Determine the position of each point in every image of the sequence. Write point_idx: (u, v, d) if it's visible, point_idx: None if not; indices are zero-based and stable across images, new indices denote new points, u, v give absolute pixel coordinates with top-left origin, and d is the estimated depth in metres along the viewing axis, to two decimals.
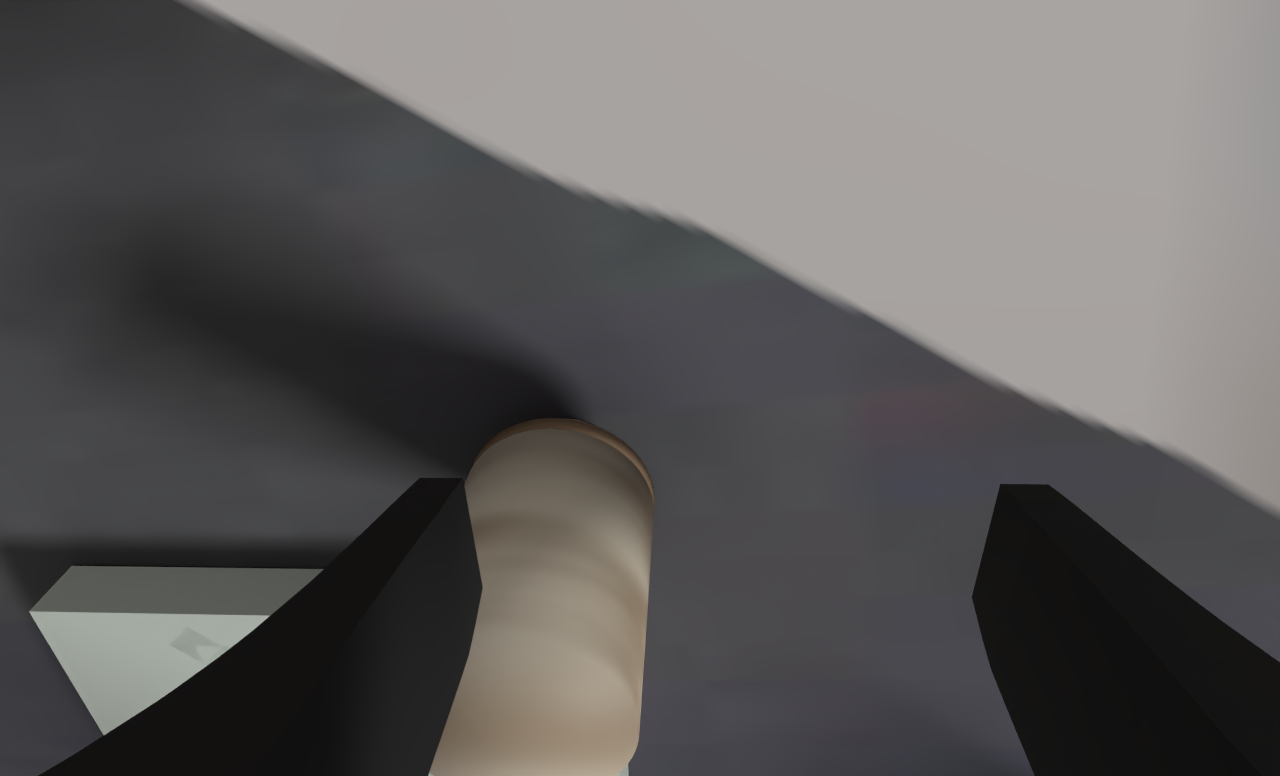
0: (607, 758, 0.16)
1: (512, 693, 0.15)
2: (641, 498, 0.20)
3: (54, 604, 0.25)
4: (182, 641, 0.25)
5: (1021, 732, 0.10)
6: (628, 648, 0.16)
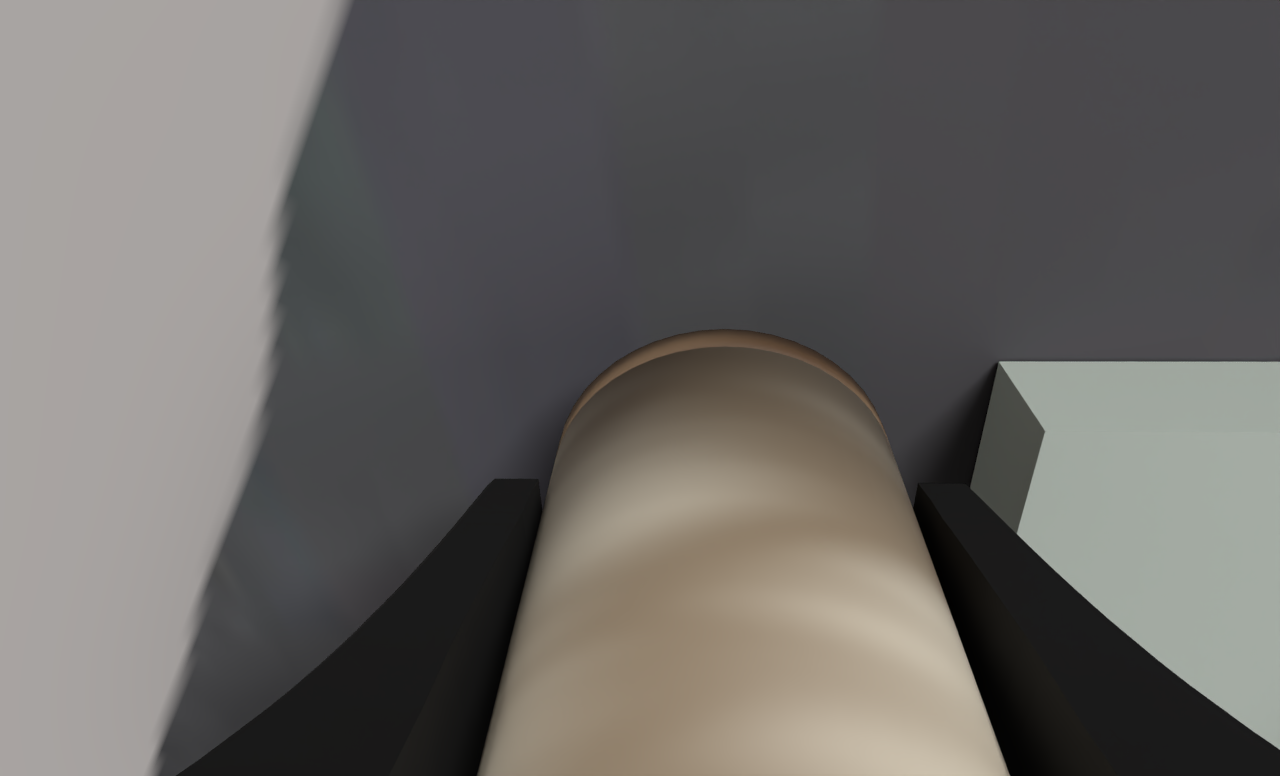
0: None
1: None
2: (646, 394, 0.10)
3: None
4: None
5: None
6: (610, 720, 0.06)
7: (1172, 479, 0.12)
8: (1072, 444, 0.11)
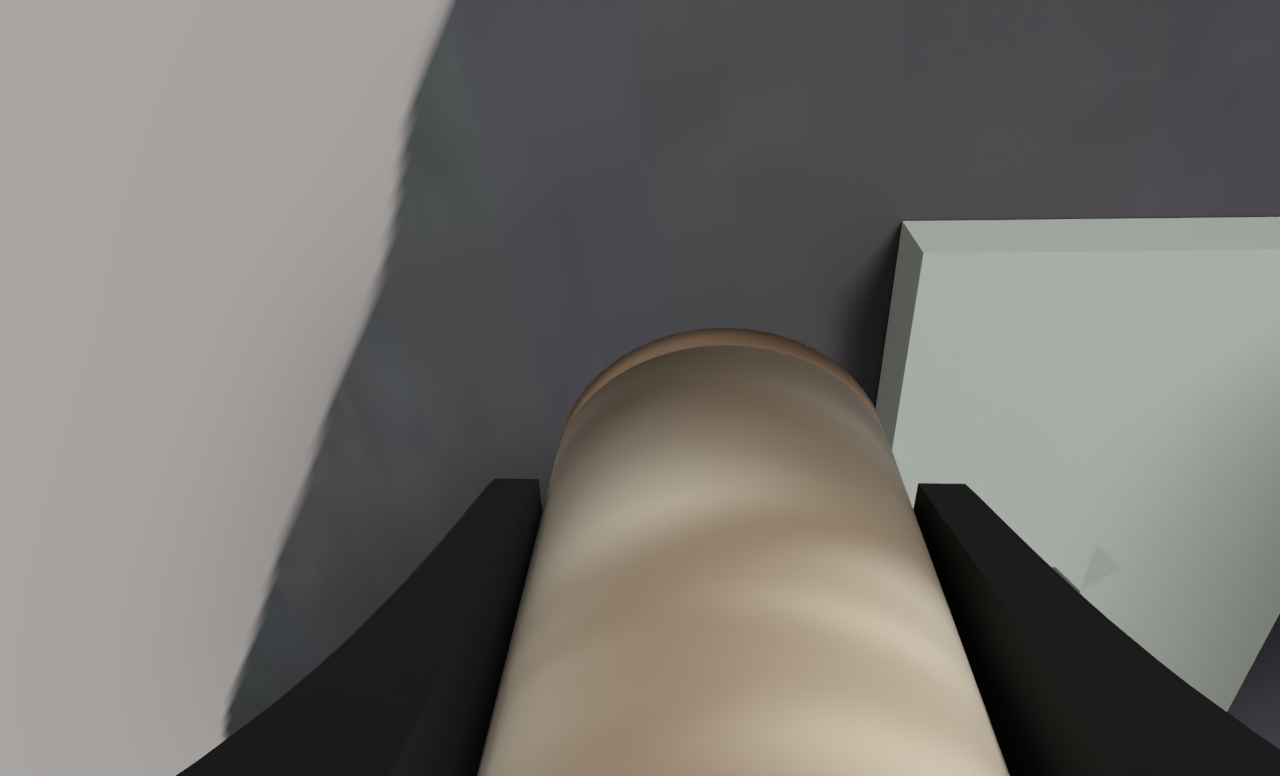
0: None
1: None
2: (646, 393, 0.10)
3: None
4: None
5: None
6: (612, 715, 0.06)
7: (1010, 288, 0.17)
8: (942, 262, 0.17)
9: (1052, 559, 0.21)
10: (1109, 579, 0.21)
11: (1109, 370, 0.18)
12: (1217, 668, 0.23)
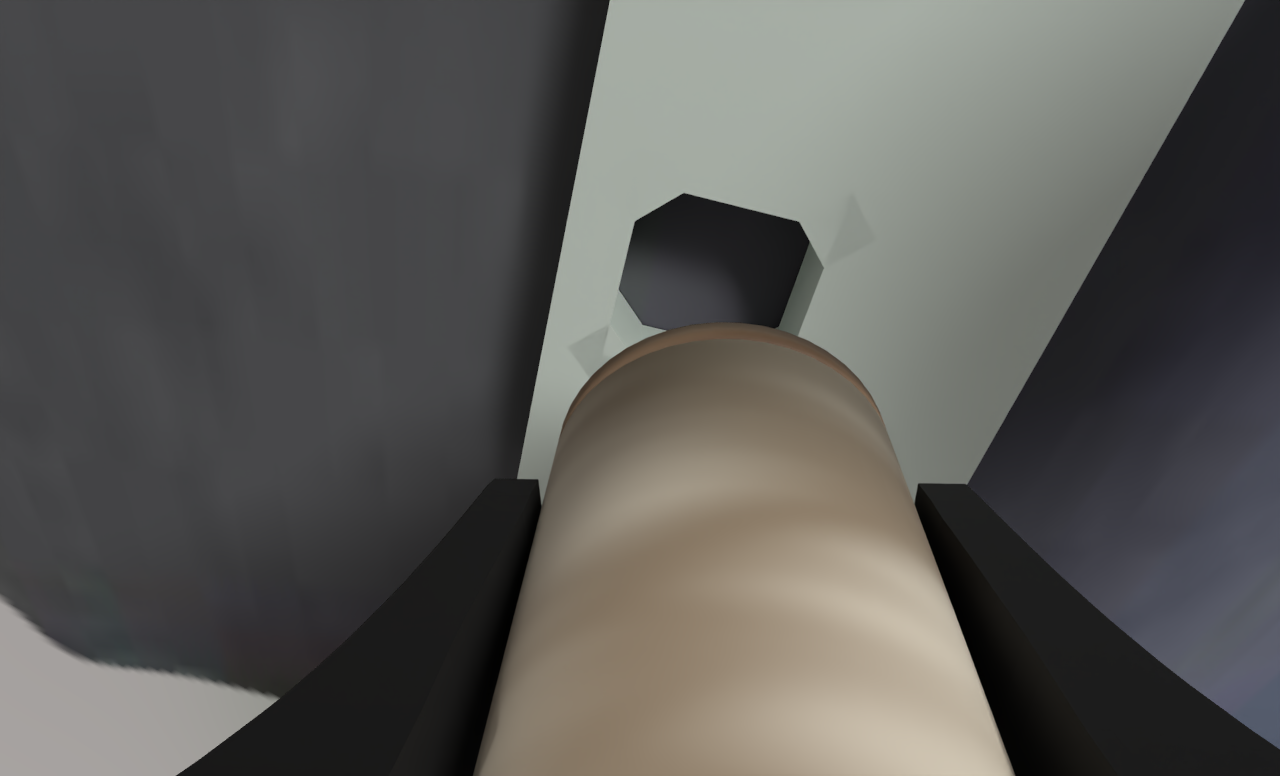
0: None
1: None
2: (638, 389, 0.10)
3: (518, 475, 0.21)
4: (592, 367, 0.19)
5: None
6: (597, 707, 0.06)
7: None
8: None
9: (797, 208, 0.17)
10: (860, 256, 0.17)
11: None
12: (962, 424, 0.19)
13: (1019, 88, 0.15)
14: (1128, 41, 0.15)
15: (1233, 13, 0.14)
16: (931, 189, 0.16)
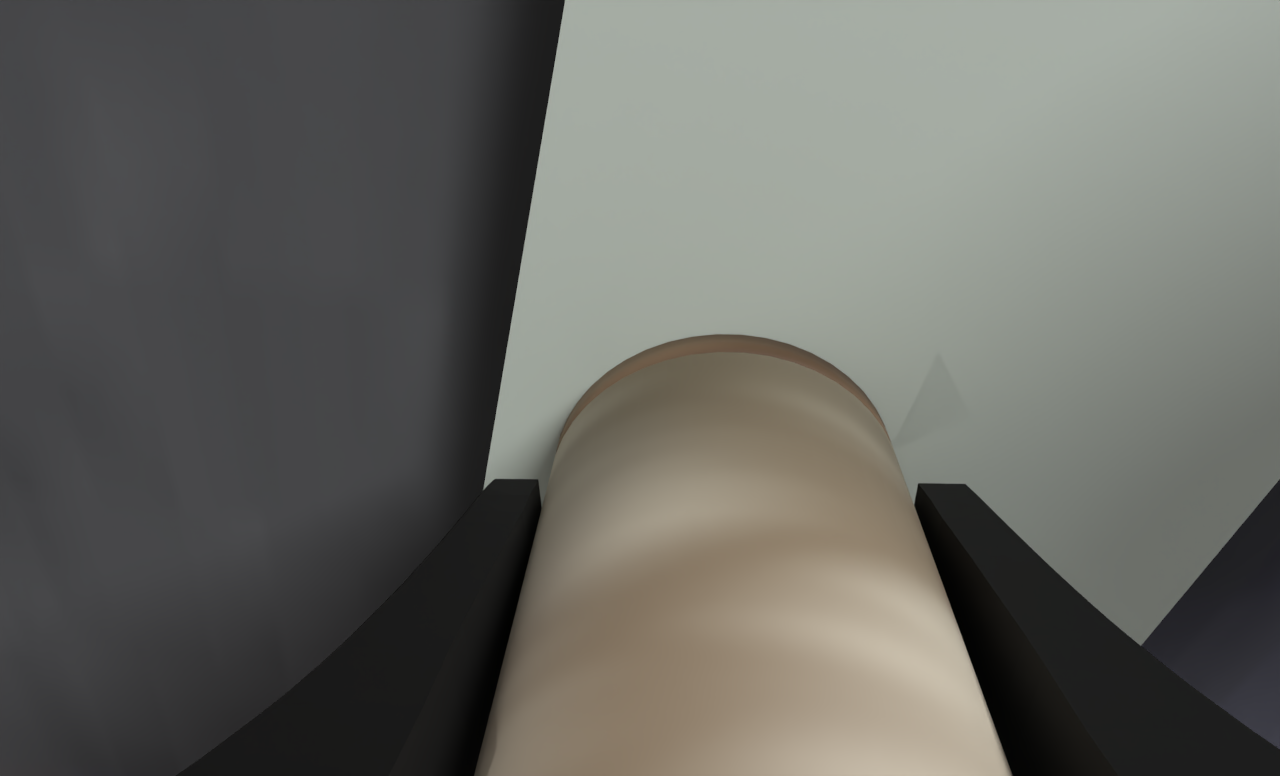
0: None
1: None
2: (637, 405, 0.10)
3: None
4: None
5: None
6: (592, 753, 0.06)
7: None
8: None
9: (851, 370, 0.11)
10: (944, 438, 0.11)
11: None
12: None
13: (1219, 202, 0.09)
14: None
15: None
16: (1062, 347, 0.10)
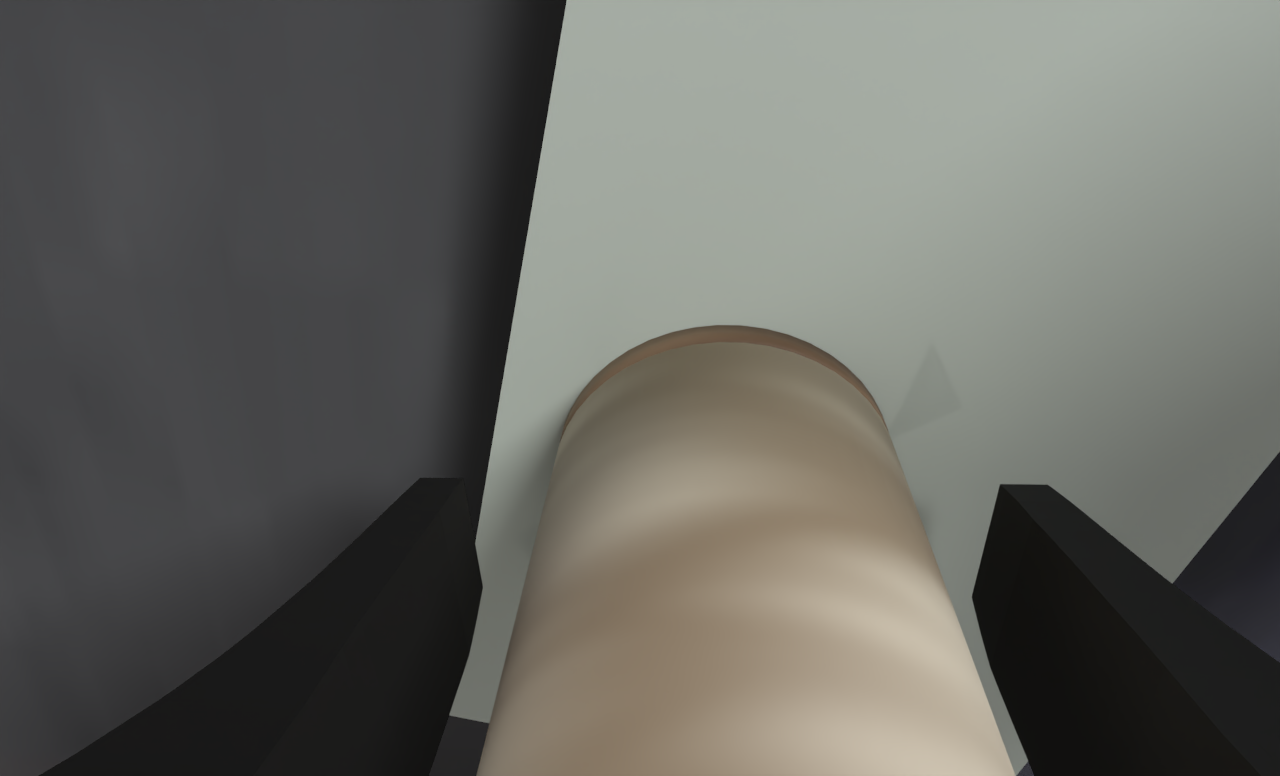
0: None
1: None
2: (639, 393, 0.10)
3: None
4: None
5: (1020, 732, 0.10)
6: (598, 719, 0.06)
7: None
8: None
9: (847, 361, 0.11)
10: (937, 428, 0.12)
11: None
12: None
13: (1204, 196, 0.10)
14: None
15: None
16: (1052, 338, 0.11)
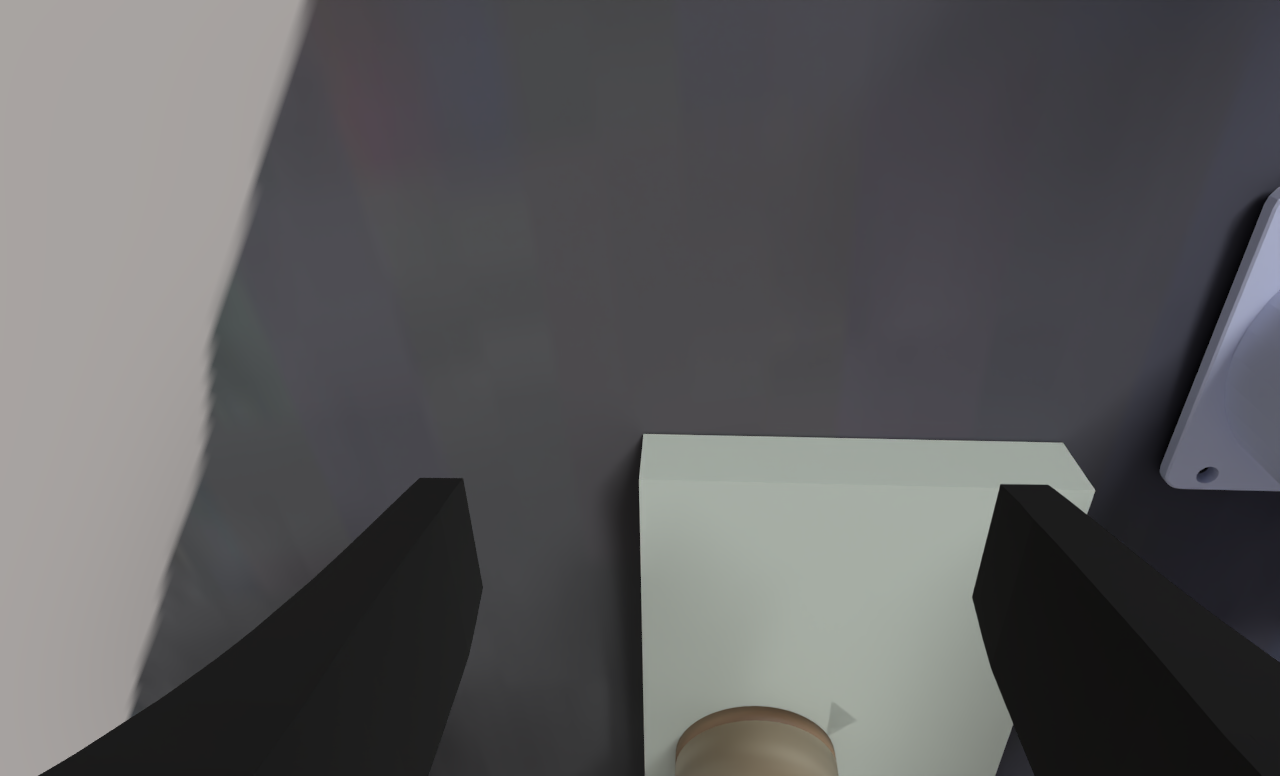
0: None
1: None
2: (704, 757, 0.23)
3: None
4: None
5: (1021, 732, 0.10)
6: None
7: (716, 507, 0.20)
8: (656, 486, 0.20)
9: (796, 711, 0.24)
10: (849, 729, 0.24)
11: (813, 570, 0.21)
12: None
13: (926, 641, 0.22)
14: None
15: None
16: (885, 692, 0.23)
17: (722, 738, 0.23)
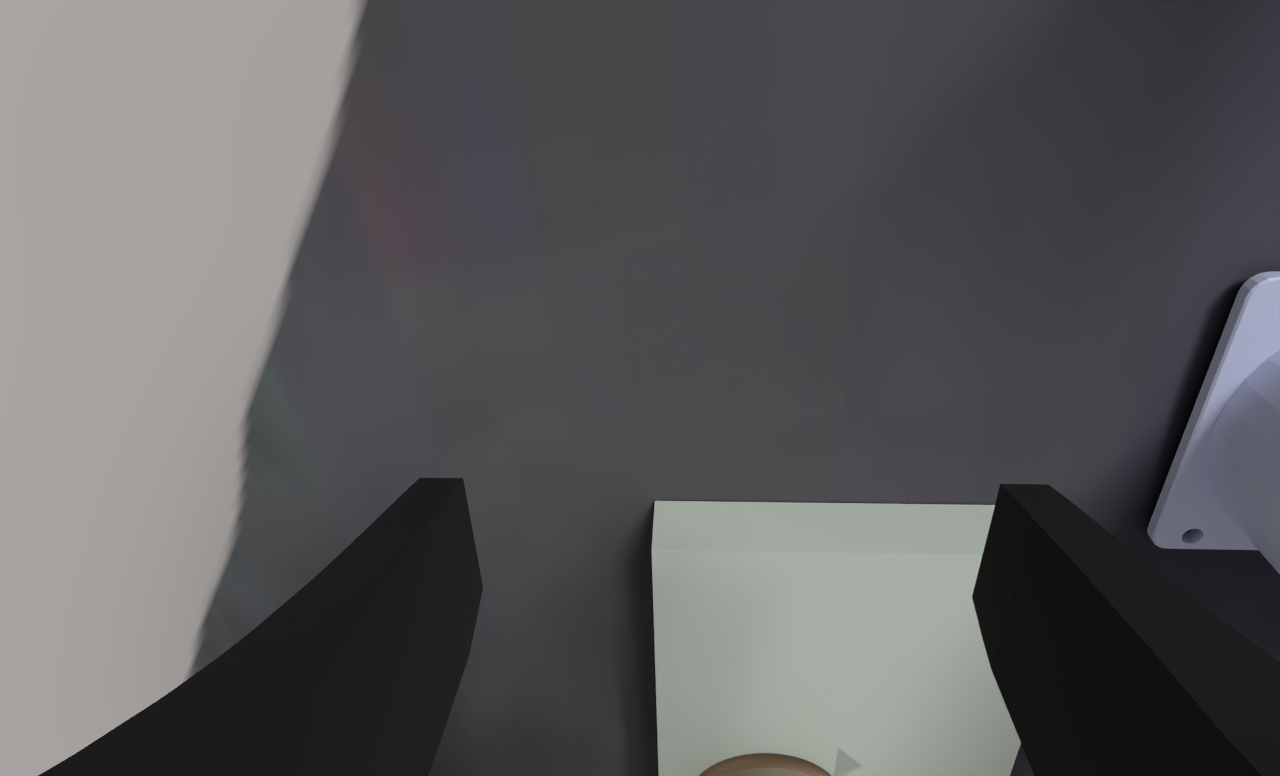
0: None
1: None
2: None
3: None
4: None
5: (1021, 732, 0.10)
6: None
7: (725, 574, 0.21)
8: (668, 555, 0.21)
9: (804, 758, 0.25)
10: (855, 773, 0.25)
11: (818, 630, 0.22)
12: None
13: (927, 693, 0.23)
14: (988, 666, 0.23)
15: None
16: (889, 739, 0.24)
17: None
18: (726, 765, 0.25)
